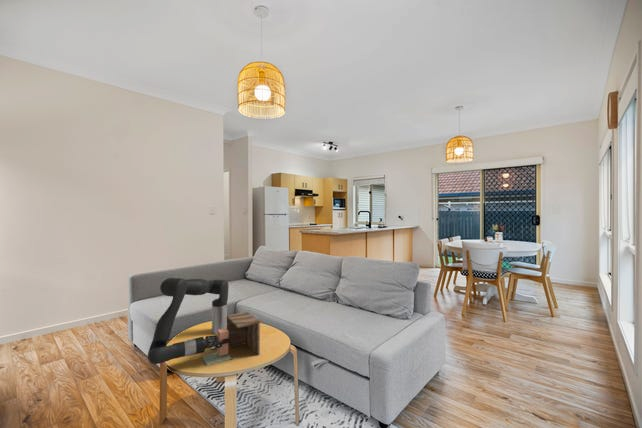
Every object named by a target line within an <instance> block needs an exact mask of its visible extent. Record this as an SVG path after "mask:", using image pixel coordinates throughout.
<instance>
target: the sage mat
mask: <svg viewBox="0 0 642 428" xmlns="http://www.w3.org/2000/svg"><path fill="white" fill-rule="evenodd" d="M201 357H202V359H203V360H204V362H205V365H206V366H210V365H211V366H212V365H215V364H218V363H222V362H226V361H228V360H232V357H231V355H230V354H229V353H228V354H226V355H222V356H219V355H218V353H217V351H215V352H210V353H207V354H204V355H202V356H201Z"/></svg>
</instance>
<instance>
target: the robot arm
mask: <svg viewBox="0 0 642 428" xmlns="http://www.w3.org/2000/svg"><path fill="white" fill-rule="evenodd" d="M159 290H160V292H161V293H162V295H164V296H166V297H172V300H171V302H170V305H169V306H168V307H167V308H166V310H165V311H164V313H162V315H161V316H160V318H159V320H158V321H157V324H156V326H155V330H154V333H153V338H152V341H151V343H150V347H149V349H148V352H147V356H146V357H147V360H148V362H149V363H150V364H152V365H159V364H162V363H167V362H169V361H171V360H174V359H180V358H184V357H190V356H194V355H198V354H202V353H204V352H205V351H206V349H210V350H211V351H215V350H217V348H220V347H222V344H226V343H229V342H230V339H229V338H228V339H223V340H217V330H220V329H225V328H226V329H227V315H228V300H229V282H228V280H226V279H212V280H210V279H209V280H206V279H204V278H189V279H185V278H179V277H178V278H177V277H168V278H166V279H164V280H163V281H162V282H161V284H160V288H159ZM205 294H211V295H219V296H218V298H215V299H213V300H212V301H211V333H212V335H206V336H205V338H204V336H200V337H195V338H190V339H187V340H186V339H185V340H184V341H178V342H174V343H173V344H169V345H167V344H168V341H169V340H170V337H171V333H172V329H173V326H174V322H175V320H176V317H177V314H178V312H179V310H180V307H181V305H182V303H183V301H184V298H185V296H186V295H188V296H203V295H205ZM213 334H214V335H213Z"/></svg>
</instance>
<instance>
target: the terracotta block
mask: <svg viewBox="0 0 642 428" xmlns="http://www.w3.org/2000/svg"><path fill="white" fill-rule="evenodd" d="M228 333H229V331H228V330H227V329H226V328H225V329H220V330H217V334H216V335H217V340H223V339H228ZM216 352H217V353H218V355H219V356H222V355H226V354H229V348H228V343H226V344H222V347H220V348H217V349H216Z"/></svg>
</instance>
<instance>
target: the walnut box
mask: <svg viewBox="0 0 642 428" xmlns="http://www.w3.org/2000/svg"><path fill="white" fill-rule="evenodd" d="M260 322H261V321H260V320H259V319H257V318H256V317H255V316H254V315H252V314H251V313H249V312H248V311H243V312H239V313H232V314H227V330H228V331H229V333H228V338H229V339H230V342H229V343H228V349H229V348H233V347H236V346H240V345H245V344H246V345H247V346H248V347H249V348H250V349H251V350H252V351H253V352H254V353H255V354H256V355H257V356H260V354H261V353H260V351H261V350H260V344H261V343H260V341H261V339H260V337H261V336H260V335H261V329H260V328H261V326H260V325H261V323H260Z"/></svg>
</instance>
